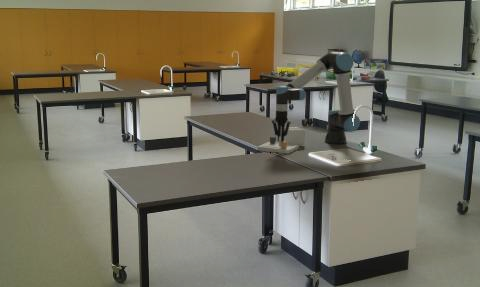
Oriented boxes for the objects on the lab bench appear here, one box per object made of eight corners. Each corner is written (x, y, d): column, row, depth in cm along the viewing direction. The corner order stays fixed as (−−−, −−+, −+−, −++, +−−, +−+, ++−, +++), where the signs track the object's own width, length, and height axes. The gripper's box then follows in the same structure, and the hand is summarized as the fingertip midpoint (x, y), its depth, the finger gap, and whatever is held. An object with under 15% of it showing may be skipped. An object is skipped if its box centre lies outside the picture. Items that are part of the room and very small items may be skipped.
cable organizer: (284, 147, 361) (284, 130, 358) (279, 143, 371) (279, 127, 368) (304, 146, 364) (305, 129, 362) (299, 142, 374) (300, 126, 372)
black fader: (275, 142, 360) (275, 136, 359) (273, 143, 358) (273, 137, 357) (271, 142, 362) (271, 136, 361) (269, 142, 359) (269, 137, 358)
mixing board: (298, 149, 355) (298, 145, 354) (288, 154, 340) (288, 150, 339) (268, 145, 365) (268, 141, 364) (257, 150, 350) (257, 146, 350)
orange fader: (286, 147, 345) (286, 141, 344) (284, 148, 342) (285, 142, 341) (282, 147, 346) (282, 141, 345) (280, 148, 344) (280, 142, 343)
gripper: (269, 110, 340) (269, 146, 345) (288, 112, 334) (287, 148, 339) (274, 108, 346) (274, 143, 351) (293, 110, 340) (292, 146, 345)
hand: (280, 146), depth 345 cm, fingers closed
